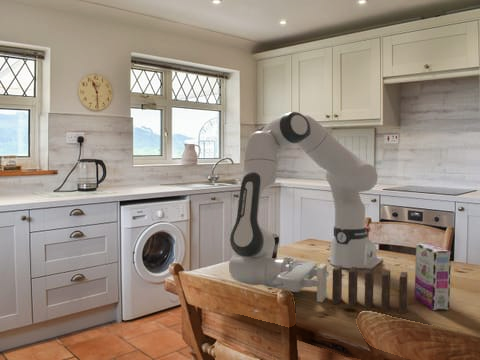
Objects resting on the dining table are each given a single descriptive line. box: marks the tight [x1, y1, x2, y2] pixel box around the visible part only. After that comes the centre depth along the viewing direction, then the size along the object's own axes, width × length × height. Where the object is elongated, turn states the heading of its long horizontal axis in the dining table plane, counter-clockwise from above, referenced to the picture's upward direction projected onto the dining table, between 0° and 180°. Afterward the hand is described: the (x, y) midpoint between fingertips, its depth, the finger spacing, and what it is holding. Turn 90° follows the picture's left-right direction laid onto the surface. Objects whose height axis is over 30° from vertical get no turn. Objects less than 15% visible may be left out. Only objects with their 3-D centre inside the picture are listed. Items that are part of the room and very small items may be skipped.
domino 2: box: [347, 267, 359, 308], centre depth 129 cm, size 2×5×10 cm, turn 155°
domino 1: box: [331, 265, 343, 305], centre depth 131 cm, size 2×5×10 cm, turn 155°
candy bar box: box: [414, 242, 452, 312], centre depth 128 cm, size 11×5×16 cm, turn 5°
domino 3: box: [364, 268, 375, 310], centre depth 127 cm, size 2×5×10 cm, turn 155°
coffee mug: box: [272, 233, 280, 259], centre depth 178 cm, size 12×9×10 cm
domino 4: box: [380, 269, 391, 312], centre depth 125 cm, size 2×5×10 cm, turn 156°
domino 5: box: [398, 271, 408, 315], centre depth 123 cm, size 2×5×10 cm, turn 155°
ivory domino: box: [316, 263, 328, 303], centre depth 133 cm, size 2×5×10 cm, turn 155°
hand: (324, 278), depth 132 cm, fingers open, 8 cm apart
